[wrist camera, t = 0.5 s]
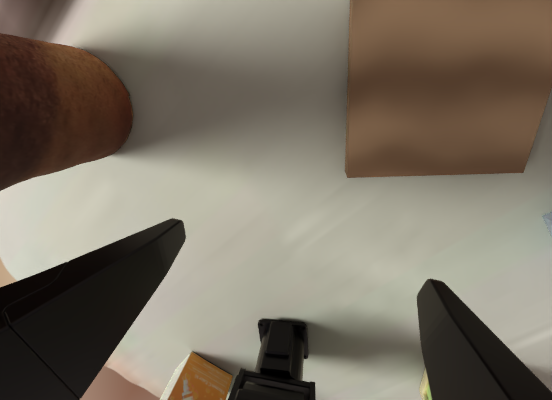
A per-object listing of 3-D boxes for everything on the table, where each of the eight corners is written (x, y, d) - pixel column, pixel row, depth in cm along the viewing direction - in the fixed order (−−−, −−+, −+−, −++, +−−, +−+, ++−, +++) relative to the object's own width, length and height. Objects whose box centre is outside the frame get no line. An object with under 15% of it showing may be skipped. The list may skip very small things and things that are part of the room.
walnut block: (505, 165, 20) (523, 172, 18) (345, 170, 23) (347, 177, 21) (564, -36, 15) (598, -53, 13) (349, -2, 17) (353, -13, 16)
